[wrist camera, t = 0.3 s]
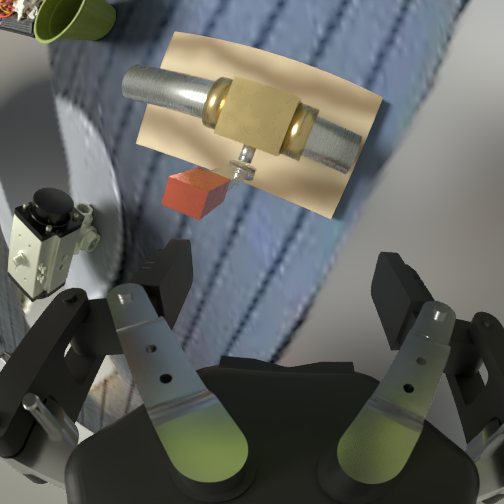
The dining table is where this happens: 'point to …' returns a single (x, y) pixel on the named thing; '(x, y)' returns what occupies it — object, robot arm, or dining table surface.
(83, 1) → the plant pot
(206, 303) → the dining table surface
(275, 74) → the mounting board
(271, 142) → the valve body
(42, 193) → the ball valve
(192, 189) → the valve lever
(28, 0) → the food platter
